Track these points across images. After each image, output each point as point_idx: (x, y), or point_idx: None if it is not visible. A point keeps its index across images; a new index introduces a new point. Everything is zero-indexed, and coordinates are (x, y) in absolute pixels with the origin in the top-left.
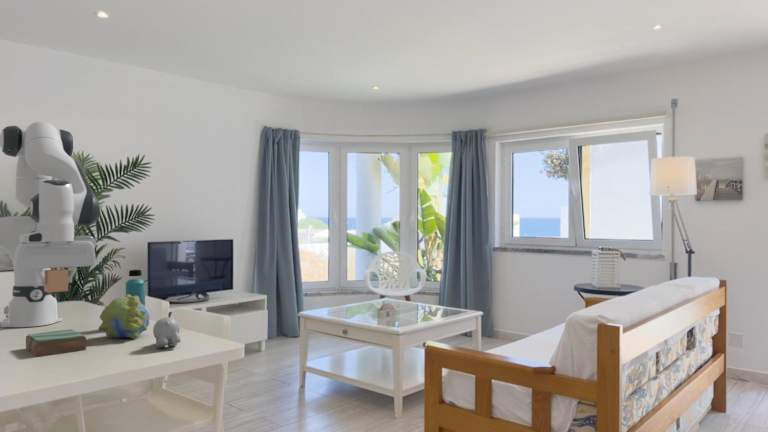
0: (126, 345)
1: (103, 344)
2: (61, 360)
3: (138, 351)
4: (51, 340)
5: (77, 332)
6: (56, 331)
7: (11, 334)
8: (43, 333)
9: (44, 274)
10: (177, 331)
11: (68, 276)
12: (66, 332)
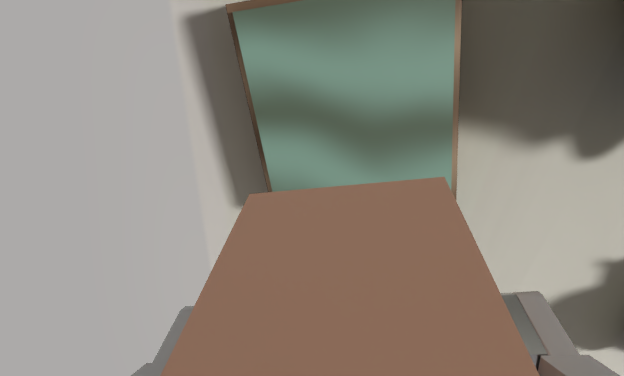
0: (592, 202)
1: (536, 125)
2: None
3: (565, 309)
4: None
5: (452, 112)
6: (370, 4)
7: None
8: (304, 29)
9: (182, 355)
10: None
11: (539, 360)
12: (408, 77)
